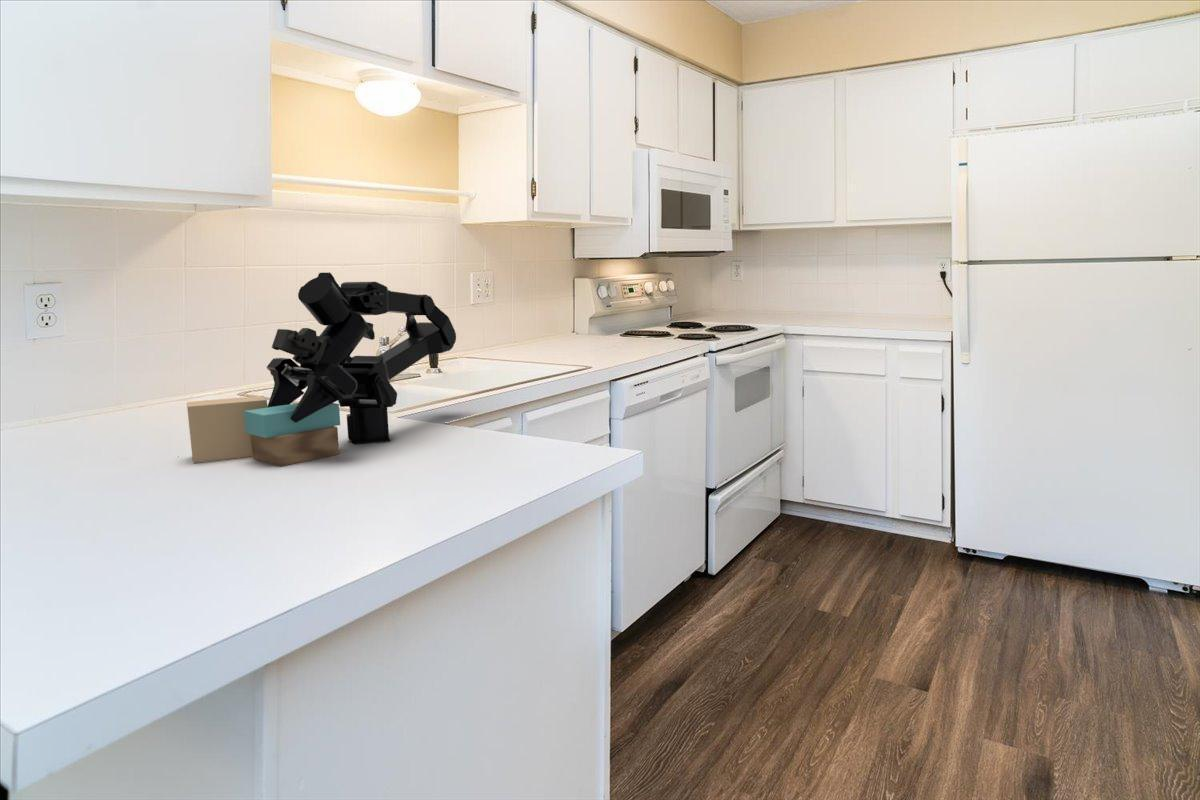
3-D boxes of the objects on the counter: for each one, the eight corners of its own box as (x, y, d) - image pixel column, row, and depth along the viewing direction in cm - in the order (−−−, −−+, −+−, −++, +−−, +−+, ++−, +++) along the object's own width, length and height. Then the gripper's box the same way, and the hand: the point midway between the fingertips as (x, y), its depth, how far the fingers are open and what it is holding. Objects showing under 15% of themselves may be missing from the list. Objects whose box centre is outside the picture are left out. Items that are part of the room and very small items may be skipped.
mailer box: (267, 448, 133) (262, 395, 132) (271, 454, 129) (266, 399, 127) (192, 456, 128) (186, 402, 127) (193, 463, 123) (187, 406, 122)
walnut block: (310, 447, 134) (308, 421, 133) (339, 454, 128) (337, 427, 127) (252, 458, 126) (250, 430, 125) (280, 466, 120) (278, 437, 120)
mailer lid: (319, 420, 133) (317, 400, 132) (340, 425, 129) (338, 404, 128) (245, 432, 124) (243, 410, 123) (265, 438, 119) (263, 415, 119)
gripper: (272, 309, 131) (212, 383, 125) (333, 310, 119) (271, 391, 113) (319, 352, 138) (265, 423, 132) (381, 357, 127) (325, 436, 120)
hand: (279, 418), depth 124 cm, fingers open, 8 cm apart
